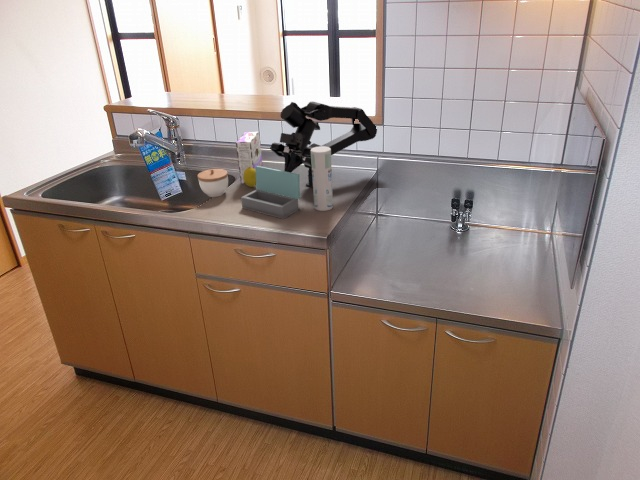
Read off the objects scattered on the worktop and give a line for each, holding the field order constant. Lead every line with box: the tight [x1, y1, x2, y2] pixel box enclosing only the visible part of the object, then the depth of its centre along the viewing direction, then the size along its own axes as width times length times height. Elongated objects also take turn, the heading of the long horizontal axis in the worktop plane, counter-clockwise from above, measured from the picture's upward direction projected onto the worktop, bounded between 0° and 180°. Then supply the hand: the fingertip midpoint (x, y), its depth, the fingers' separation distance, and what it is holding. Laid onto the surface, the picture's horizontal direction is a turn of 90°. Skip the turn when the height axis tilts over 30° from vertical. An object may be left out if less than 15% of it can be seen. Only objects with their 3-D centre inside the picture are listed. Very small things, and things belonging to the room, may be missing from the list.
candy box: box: [235, 131, 264, 184], centre depth 198 cm, size 14×6×16 cm, turn 172°
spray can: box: [311, 145, 334, 212], centre depth 167 cm, size 6×6×20 cm
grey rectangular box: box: [240, 189, 299, 220], centre depth 172 cm, size 8×18×4 cm, turn 55°
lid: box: [255, 166, 301, 200], centre depth 173 cm, size 8×18×1 cm
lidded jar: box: [197, 168, 229, 198], centre depth 186 cm, size 11×11×9 cm
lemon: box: [243, 167, 256, 189], centre depth 190 cm, size 6×6×8 cm
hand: (285, 174), depth 176 cm, fingers closed
